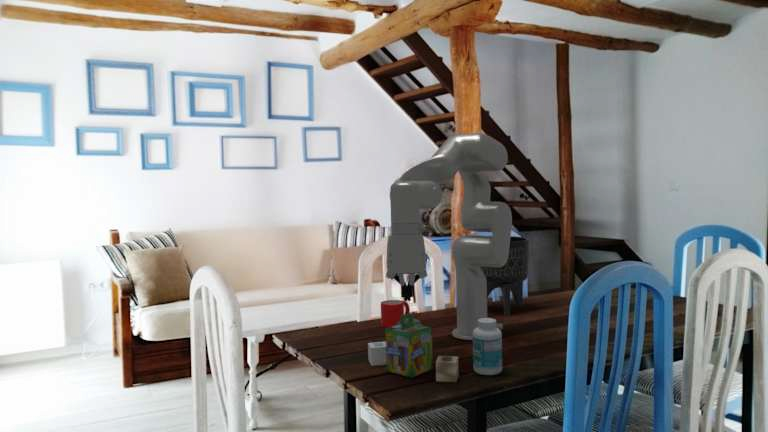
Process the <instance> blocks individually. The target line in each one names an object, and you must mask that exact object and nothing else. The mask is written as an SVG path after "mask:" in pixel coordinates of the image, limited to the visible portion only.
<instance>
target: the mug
mask: <svg viewBox="0 0 768 432" xmlns="http://www.w3.org/2000/svg"><path fill="white" fill-rule="evenodd" d="M410 310H411V309H410V305H409V303H408V301H404V300H401V299H400V300H399V299H389V300H383V301H381V302H380V325H381V327H382V326H383V327H382V328H385V327H386V328H389V327H392V326H396V324H397V321H399V320H400V316H403V315H406V314H409V313H410V312H411V311H410ZM386 328H385V329H386Z"/></svg>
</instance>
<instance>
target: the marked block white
mask: <svg viewBox="0 0 768 432" xmlns="http://www.w3.org/2000/svg"><path fill="white" fill-rule="evenodd" d="M367 356H368V362H369V363H370V366H371V367H373V366H387V365H386V341H375V342H374V341H373V342H367Z"/></svg>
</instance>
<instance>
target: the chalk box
mask: <svg viewBox="0 0 768 432" xmlns="http://www.w3.org/2000/svg"><path fill="white" fill-rule="evenodd" d="M412 318H413V316H412V313H410V312H409V314H406V315H405V314H404V315H403V316H400V321H401V324H399V325H396V326H392V327H389V328H385V329H384V330H385V333H384V334H385V335H384V337H385V342H386V365H385V366H386V372H388V373H392V374H395V375H400V376H404V377H408V378H412V379H413V378H415V377H417V376H419V375H421V374H425V373H427V372H431V371H433V369H434V368H433V367H434V366H433V362H434V360H433V328H432V327H431V326H426V325H423V324H422V325H423V326H422V325H419V324H413V320H412ZM405 319H409V321H410V322H409V323H404V320H405Z"/></svg>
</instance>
